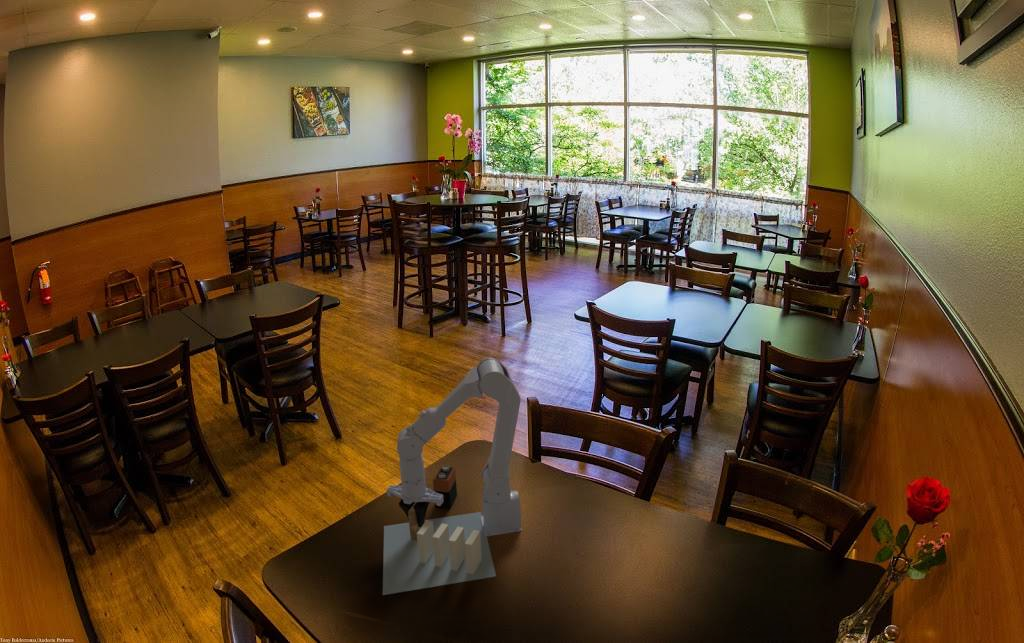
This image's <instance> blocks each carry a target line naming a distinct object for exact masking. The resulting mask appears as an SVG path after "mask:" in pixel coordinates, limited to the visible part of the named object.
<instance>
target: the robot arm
mask: <svg viewBox="0 0 1024 643" xmlns="http://www.w3.org/2000/svg"><path fill="white" fill-rule="evenodd" d="M483 394H484V395H485V396H486V397H488V398H491V399H492V400H495V401H496V402H497V403H498V407H497V414H496V418H495V419H496V420H495V426H494V433H493V436H492V437H493V438H492V443H491V450H490V454H489V455H490V456H489V457H488V458H487V462H486V464H485V466H484V467H483V468H482V471H481V479H482V480H483V487H484V489H483V490H482V493H481V498H482V501H481V502H482V516H481V517H480V518H481V523H482V527H483V531H484V535H485V536H487V537H491V536H492V537H493V536H498V535H504V534H505V535H506V534H511V533H517V532H521V531H522V530H523V528H522V508H521V500H520V495H519V491H518V490H511V487H510V462H511V456H512V449H513V447H514V440H515V434H516V427H517V422H518V418H519V412H520V406H521V401H522V400H521V396H520V394H519V391H518V389H517V387H516V385H515V382H514V381H513V379H512V377H511V375H510V373H509V371H508V369H507V367H506V366H505V365H504V364H503V363H502V362H501V361H499V360H498V359H497V358H494V357H486V358H484V359H482V360H481V361H480V362H478V364H477V366H474V367H472V368H471V369H470V370H469V371H468V373H467V374H466V376H465V377H464V378H463V379H462V380H461V381H460V382H459V383H457V385H456V386H455V388H453V389H452V390H451V392H449V394H448V395H446V397H445V398H444V399H443V400H442V401H441V402H440V403H439V404H438V405H437V406H434V407H428V408H426V410H424V409H422V410H421V411H420V412H419V417H418V418H416V420H414V421H413V422H412V423H411V425H410V424H408V425H406V427H405V428H403V429H402V430H401V431H400V432H398V435H397V438H396V439H397V444H396V451H397V454H398V458H399V471H400V472H399V473H400V481H401V485H391V484H390V485H389V486H388V487H387V488H386V496H387V497H392V496H393V497H394V496H395V497H398V498H400V501H399V502H398V507H399V508H400V509H401V510H402V511H403V512H404V513H405V515H406V518H407V519H408V521H409V516H408V511H409V510H410V509H411V507H412V506H413V505H414V504H415V503H416V502H417V503H416V504H415V505H414V506H413V508H414V510H415V513H416V516H417V523H418V527H422V525H423V524H424V521H425V520H426V513H427V511H428V508H429V505H430V503H431V504H435V503H436V505H437V506H441V504H442V503H443V502H444V500H443V495H442V494H438V493H436V492H434V490H432V489H430V488H428V487H427V486H426V483H427V482H426V474H425V462H424V456H423V449H424V448H423V447H424V446H425V445H426V444H428V443H429V442H431V440H432V439H433V438H434V437H435V436H436V435H438V433H439V432H440V431H441V430H442V429H444V428H445V427H446V426H447V418H448V417H449V416H450V415H452V414H453V413H454V412H455V411H456V410H457V409H458V408H460V407H461V406H462V405H463V404H465V403H466V402H467V401H468V400H469V399H470V398H477V399H483V398H484V396H483Z"/></svg>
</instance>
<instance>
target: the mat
mask: <svg viewBox="0 0 1024 643" xmlns="http://www.w3.org/2000/svg"><path fill="white" fill-rule="evenodd" d="M481 516H483V513H482V512H481V511H478V512H472V513H463V514H457V515H451V516H443V517H439V518H438V517H437V518H431V519H425V522H426V521H427V520H428V521H433V530H434V534H435V533H436V531H437V530H438V528H439V527H440V525H441V524H442V523H443V524H448V528H449V539H450V537H451V536H452V534H453V533H454V531H455V530H456V528H457V527H463V528H464V535H465V543H466V541H467V539H468V538H469V536H470V535H471V533H472V531H473V530H478V531H480V539H481V557H482V560H481V562H480V564H479V565H478V567H477V569H476V571H475V573H474V574H469V573H467V567H466V557H465V559H464V560H463V562H462V564H461V565H460V567H459V569H458V570H457V571H456V570H451V565H450V554H449V556H448V558H447V559H446V561H445V562H444V564H443V565H442V567H438V566H435V560H434V552H433V554H432V555H431V557H430V558H429V560H428V561H427V563H426V564H425V563H420V562H419V551H418V541H417V540H412V539H411V536H410V526H409V522H403V523H397V524H390V525H383V556H382V557H383V561H382V562H383V564H382V565H383V567H382V568H383V569H382V596H386V595H393V594H398V593H405V592H411V591H416V590H422V589H428V588H433V587H440V586H447V585H452V584H459V583H463V582H464V583H465V582H471V581H476V580H483V579H489V578H494V577H497V574H496V570H495V565H494V561H493V558H492V553H491V549H490V544H489V540H488V536H485V535H484V531H483V527H482V523H481V518H480V517H481Z"/></svg>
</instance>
